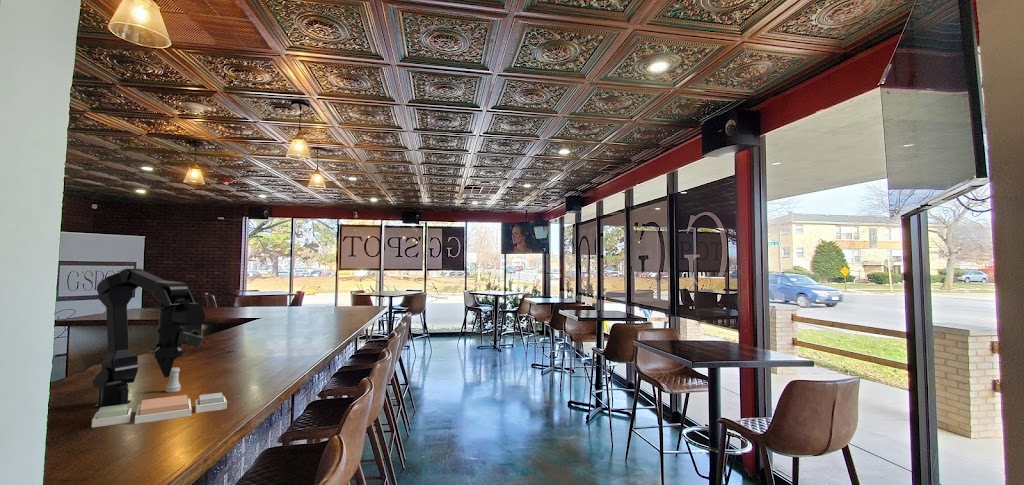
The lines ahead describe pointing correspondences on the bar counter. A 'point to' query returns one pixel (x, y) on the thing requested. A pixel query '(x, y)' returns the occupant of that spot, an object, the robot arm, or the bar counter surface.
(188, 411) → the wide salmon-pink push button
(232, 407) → the bar counter surface
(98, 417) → the sage button
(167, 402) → the terracotta button
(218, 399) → the grey button
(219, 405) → the grey collar
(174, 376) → the rook chess piece
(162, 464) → the bar counter surface
